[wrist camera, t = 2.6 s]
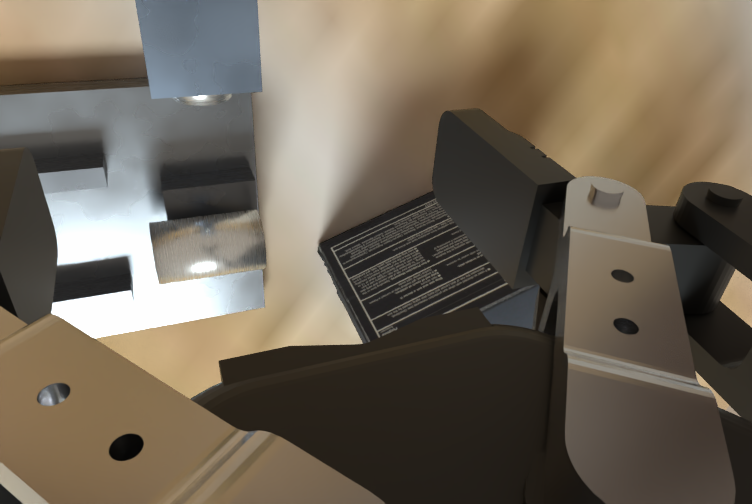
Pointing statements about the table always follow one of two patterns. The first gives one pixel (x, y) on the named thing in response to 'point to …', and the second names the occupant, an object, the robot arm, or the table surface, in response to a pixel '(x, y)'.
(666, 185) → the table surface
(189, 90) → the block with round knob
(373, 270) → the small box
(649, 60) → the table surface
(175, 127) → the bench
